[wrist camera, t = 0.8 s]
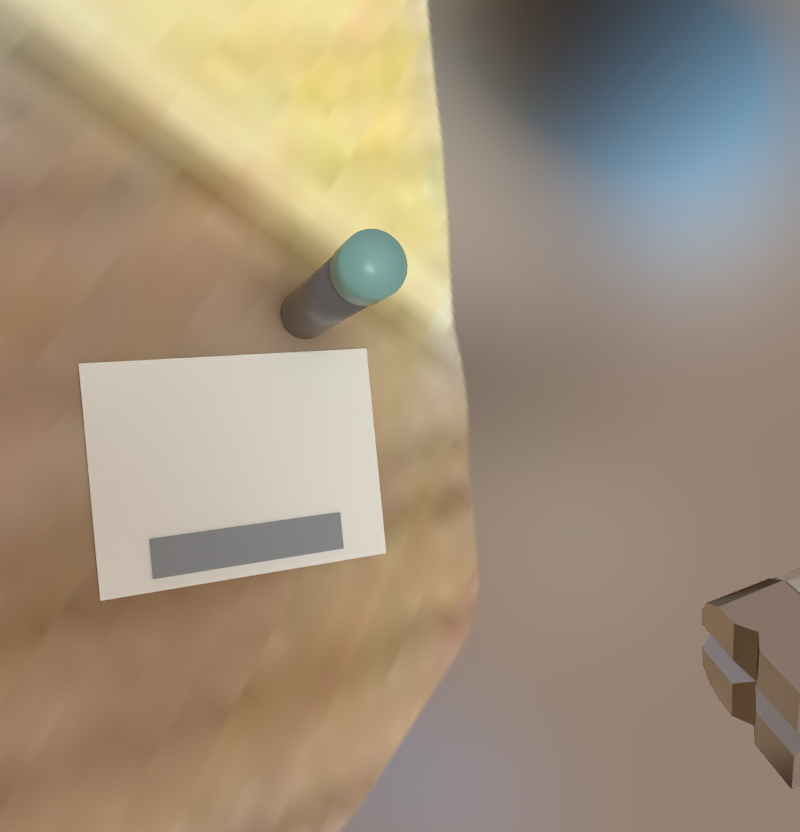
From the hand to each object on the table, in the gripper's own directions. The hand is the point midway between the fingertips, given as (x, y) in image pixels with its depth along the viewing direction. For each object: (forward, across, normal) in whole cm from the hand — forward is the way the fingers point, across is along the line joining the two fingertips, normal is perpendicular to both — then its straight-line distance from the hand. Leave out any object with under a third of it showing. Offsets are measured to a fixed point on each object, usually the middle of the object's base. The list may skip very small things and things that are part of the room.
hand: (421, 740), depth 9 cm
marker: (+40, -1, +9) cm, 41 cm away
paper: (+35, +5, +15) cm, 38 cm away
